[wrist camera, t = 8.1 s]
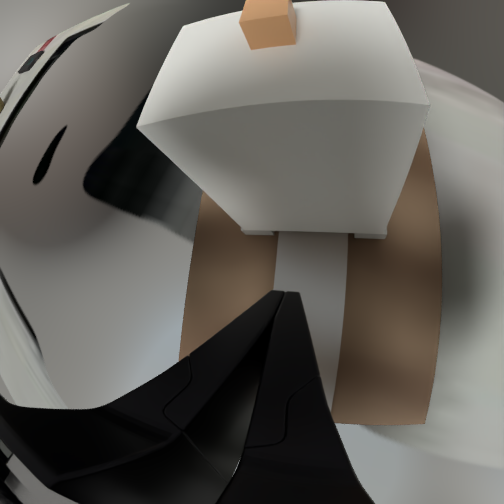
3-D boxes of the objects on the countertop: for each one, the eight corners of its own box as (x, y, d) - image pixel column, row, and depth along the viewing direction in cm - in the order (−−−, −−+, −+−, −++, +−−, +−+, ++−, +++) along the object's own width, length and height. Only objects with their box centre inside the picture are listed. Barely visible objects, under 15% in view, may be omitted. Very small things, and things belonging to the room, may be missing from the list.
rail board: (419, 417, 12) (442, 445, 8) (185, 389, 16) (143, 403, 12) (418, 127, 16) (429, 83, 12) (223, 131, 20) (198, 93, 16)
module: (384, 239, 13) (448, 72, 3) (245, 234, 16) (108, 108, 6) (379, 154, 14) (390, -21, 4) (255, 156, 17) (166, 9, 7)
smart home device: (26, 69, 53) (17, 72, 61) (29, 71, 55) (19, 74, 63) (42, 49, 54) (30, 55, 61) (45, 52, 56) (33, 57, 63)
